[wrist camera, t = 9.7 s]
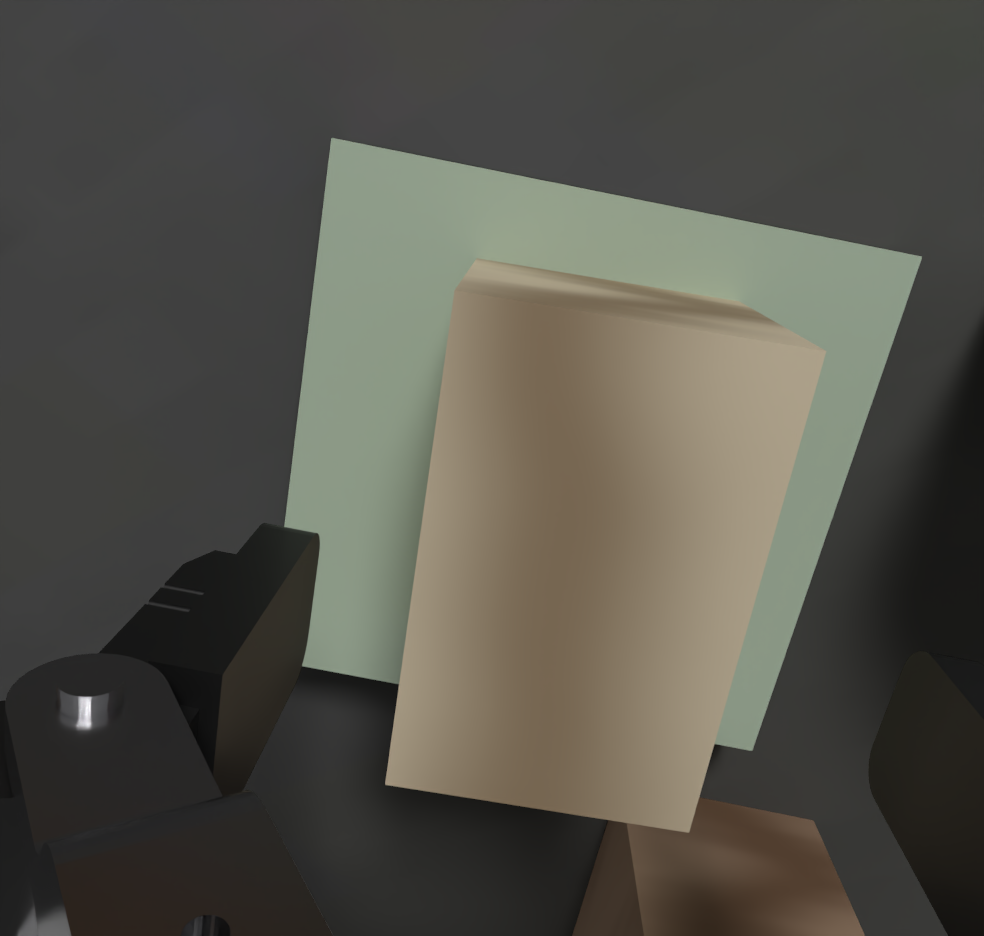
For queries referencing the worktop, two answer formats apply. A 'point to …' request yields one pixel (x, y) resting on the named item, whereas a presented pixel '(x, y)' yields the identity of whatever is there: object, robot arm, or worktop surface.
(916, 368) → the worktop surface
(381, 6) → the worktop surface
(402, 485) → the baseplate
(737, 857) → the walnut brick
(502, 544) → the birch brick
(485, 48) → the worktop surface
